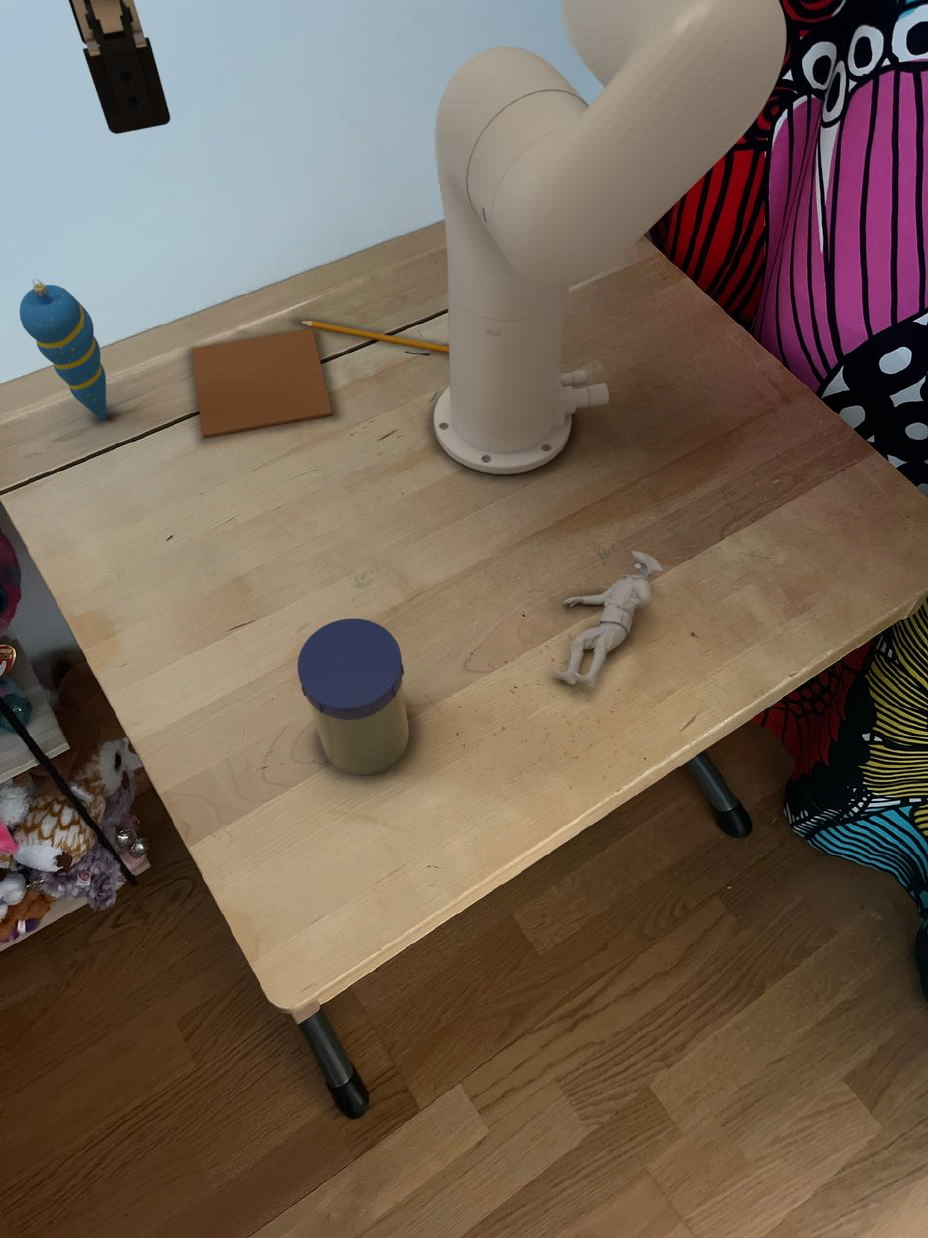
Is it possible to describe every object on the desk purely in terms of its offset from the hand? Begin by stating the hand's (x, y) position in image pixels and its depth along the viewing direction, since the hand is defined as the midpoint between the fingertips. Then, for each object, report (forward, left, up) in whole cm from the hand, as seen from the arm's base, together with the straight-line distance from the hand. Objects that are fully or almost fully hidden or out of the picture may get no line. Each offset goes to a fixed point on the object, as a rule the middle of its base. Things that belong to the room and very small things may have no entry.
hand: (125, 80), depth 50 cm
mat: (-3, -14, -35) cm, 38 cm away
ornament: (+12, -13, -35) cm, 40 cm away
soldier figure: (-25, +21, -35) cm, 48 cm away
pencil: (-16, -17, -36) cm, 42 cm away
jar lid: (-6, +25, -25) cm, 36 cm away
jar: (-6, +25, -35) cm, 43 cm away
